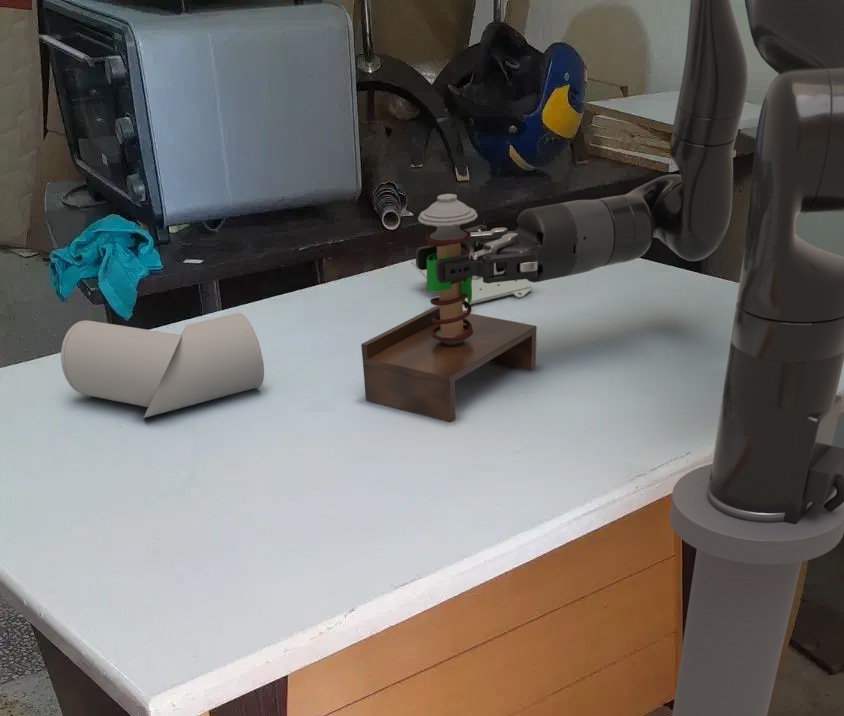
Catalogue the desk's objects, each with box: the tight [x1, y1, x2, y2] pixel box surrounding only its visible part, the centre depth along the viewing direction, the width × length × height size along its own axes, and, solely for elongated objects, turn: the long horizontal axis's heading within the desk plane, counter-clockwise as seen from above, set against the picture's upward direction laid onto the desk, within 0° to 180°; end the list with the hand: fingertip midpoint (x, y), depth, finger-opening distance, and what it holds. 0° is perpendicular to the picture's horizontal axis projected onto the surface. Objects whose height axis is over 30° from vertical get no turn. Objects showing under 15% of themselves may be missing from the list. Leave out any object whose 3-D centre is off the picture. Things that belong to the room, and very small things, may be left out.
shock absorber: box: [417, 193, 478, 345], centre depth 112 cm, size 6×6×15 cm
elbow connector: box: [60, 312, 265, 419], centre depth 118 cm, size 18×11×20 cm
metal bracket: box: [411, 258, 533, 312], centre depth 145 cm, size 14×6×15 cm
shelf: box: [360, 305, 537, 423], centre depth 118 cm, size 12×18×6 cm, turn 144°
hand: (427, 265), depth 110 cm, fingers closed on shock absorber, 4 cm apart
